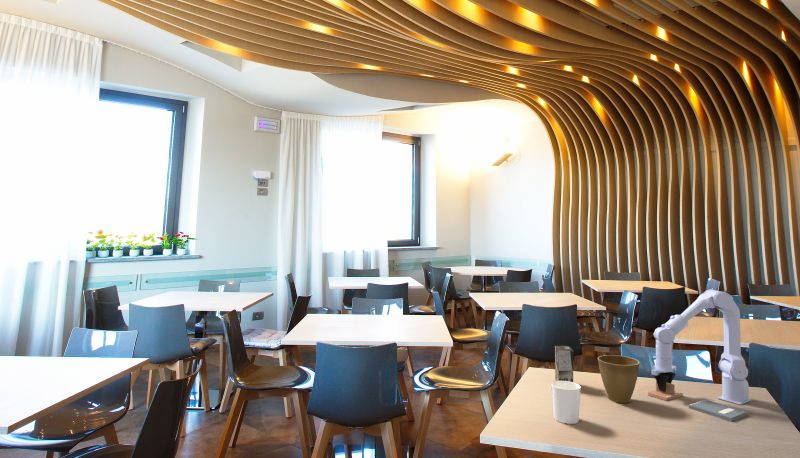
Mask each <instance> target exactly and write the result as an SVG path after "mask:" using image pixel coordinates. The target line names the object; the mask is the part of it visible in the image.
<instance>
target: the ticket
mask: <svg viewBox="0 0 800 458" xmlns="http://www.w3.org/2000/svg"><path fill="white" fill-rule="evenodd" d="M688 409H691V410H694V411H696V412H700V413H703V414H707V415H710V416H713V417H716V418H719V419H721V420H724V421H729V422H734V421H736V420H739V419H742V418H744V417H747V416H748V411H746V410H742V409H739V408H735V407H733V406H728V405H725V404H722V403H718V402H715V401H711V400H708V399H703V400H699V401H696V402H693V403H690V404H688Z"/></svg>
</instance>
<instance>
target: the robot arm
mask: <svg viewBox="0 0 800 458" xmlns="http://www.w3.org/2000/svg"><path fill="white" fill-rule="evenodd" d="M714 308H716V309H717V310H718V311H720V312H721V313H722V320H723V321H722V322H723V325H722V326H723V352H722V354H721V355H720V360H719V362H718V369H719V370H720V371H721V395H720V396H717V399H718V400H723V401H727V402H729V403H732V404H736V405H743V404H746V403H748V402H751V401H752V399H751V398H750V396H749V394H750V393H749V391H750V390H749V389H750V388H749V382H748V380H747V379H746V378H747V377H748V376H749V370H748V368H747V366H746V360H745V358H744V357H743V356H742V352H741V351H742V349H741V347H742V346H741V310H740V308H739V306H738V305H737V304H736V302H735V301H734V297H733V296H732V295H731V294H730V293H728V292H725V291H720V290H716V289H712V288H711V289H707V290H705V291H704V292H702V293H701V294H700V295H699V296H698V297H697V298H696V300H695V301H693V302H692V304H690V305H689V306H688V307H687V308H686V309H685V310H684V311H683V312H682V313H681V314H675V315H671V316H670V317H669V320H668V321H667V322H665V323H663V324H661V325H660V327H659V326H658V327H657V328H655V330H654V332H653V334H652V335H653V337H654V338H655V365H653V366H652V367H653V369H651V370H650V371H651V373H650V374H651V375H652V376H653V377H654V379H655V382H656V381H657V384H658V388H659V391H663V392H665V390H666V383H670V384H673V383H672V382H673V381H674V380H673V379H675V376H676V373H674V372H677V366H676V365H673V344H672V343H673V342H674V341H675V339H676V336H677V335H678V334H680V332H682V331H683V330H685V328H687V327H688V326H689V324H688V323H689V321H690V320H691V319H693V318H694V317H695V316H697V314H699V313H700V312H702V311H704V310H705V309H706V310H707V309H714Z"/></svg>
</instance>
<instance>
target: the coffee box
mask: <svg viewBox="0 0 800 458" xmlns="http://www.w3.org/2000/svg"><path fill="white" fill-rule="evenodd" d="M554 348H555V349H554V351H555V352H554V354H555V355H554V359H555V360H554V361H555V362H554V364H555V365H554V367H555V368H554V370H555V376H554V377H555V379H554V380H555V381H569V382H573V383H574V350H573V348H572V347H571V346H569V345H554Z"/></svg>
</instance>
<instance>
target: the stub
mask: <svg viewBox="0 0 800 458" xmlns="http://www.w3.org/2000/svg"><path fill="white" fill-rule="evenodd" d="M655 383H656V384H655V387H656V388H655V390H652V391H649V392H647V395H648V396H650V397H653V398H657V399H660V400H663V401H669V400H672V399H676V398H678V397H679V398H680V397H682V396H684V395H683V394H684V393H683V392H681V391H680V392H679V391H677V390H675V384H674V383H671V384H670V383H666V390H665V392H663V391H659V388H658V384H657V381H656V380H655Z"/></svg>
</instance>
